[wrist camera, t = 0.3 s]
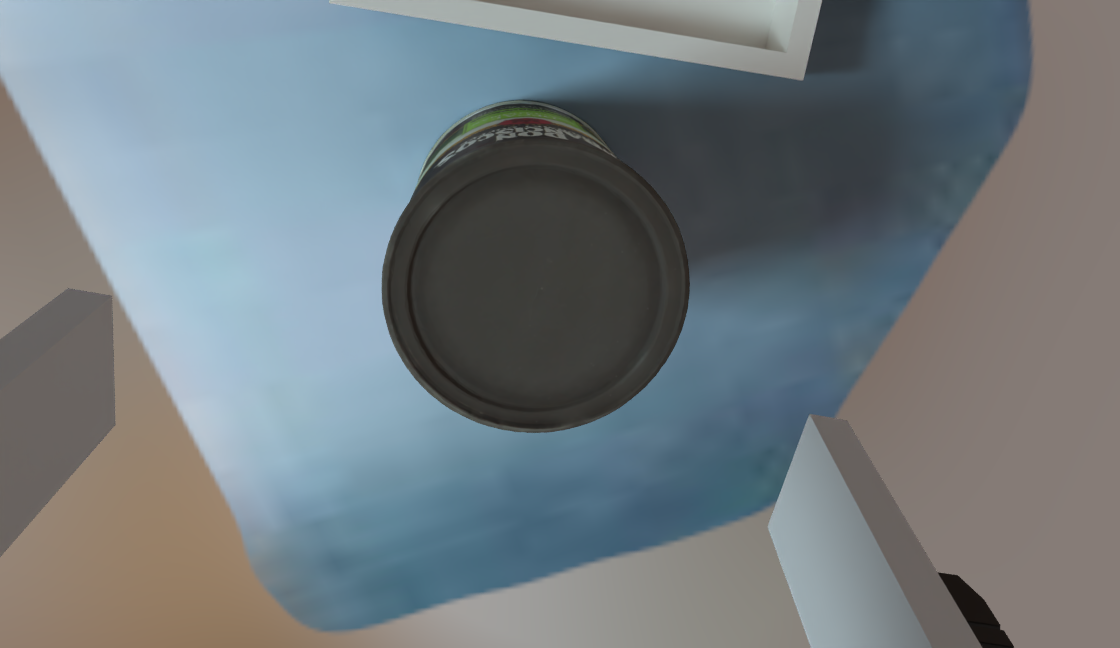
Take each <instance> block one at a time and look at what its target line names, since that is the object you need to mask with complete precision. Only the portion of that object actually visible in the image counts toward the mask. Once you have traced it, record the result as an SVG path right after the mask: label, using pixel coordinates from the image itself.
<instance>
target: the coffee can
mask: <svg viewBox="0 0 1120 648" xmlns="http://www.w3.org/2000/svg"><path fill="white" fill-rule="evenodd" d="M689 286H690V282H689V267H688V259H687V255H686V250H685V246H684V242H683V239H682V236H681V233H680V230H679V228H678V226H677V223H676V221H675V219H674V217H673V216H672V214H671V212H670V210H669V209H668V207H667V205H666V204H665V203H664V201H663V200H662V199H661V197H660V196H659V195H658V194H657V192H656V191H655V190H654V189H653V188H652V187H651V186H650V185H649V184H648V183H647V182H646V181H645V180H644V179H643V178H642V177H641V176H640V175H639V174H637V173H636V172H635V171H634V170H633V169H632V168H630V167H629V166H627V165H626V164H624V163H623V162H622V161H620V160H619V159H618V158H617V157H616V156H615V155H614V154H613V153H612V152H611V150H610V149H609V148H608V147H607V145H606V144H605V142H604V141H603V140H602V139H601V138H600V136H599V135H598V134H597V133H596V132H595V130H593V129H592V128H591V127H590V126H589V125H588V124H586V123H585V122H584V121H582V120H581V119H579V118H578V117H576V116H575V115H573V114H571V113H569V112H567V111H565V110H563V109H560V108H558V107H555V106H552V105H549V104H544V103H539V102H532V101H521V100H516V101H506V102H500V103H496V104H492V105H489V106H486V107H483V108H481V109H478V110H476V111H474V112H472V113H470V114H468V115H467V116H465V117H463V118H462V119H460V120H459V121H458V122H456V123H455V124H454V125H452V126H451V127H450V128H449V129H448V130H447V131H446V132H445V133H444V134H443V135H442V136H441V137H440V138H439V140H438V141H437V142H436V143H435V145H434V146H433V148H432V149H431V151H430V153H429V155H428V156H427V158H426V160H425V162H424V165H423V168H422V170H421V173H420V176H419V180H418V183H417V186H416V188H415V191H414V193H413V195H412V198H411V200H410V202H409V204H408V205H407V206H406V208H405V210H404V211H403V213H402V214H401V216H400V218H399V220H398V222H397V224H396V226H395V228H394V231H393V233H392V235H391V238H390V241H389V244H388V247H387V251H386V255H385V259H384V264H383V271H382V304H383V309H384V315H385V319H386V323H387V327H388V330H389V334H390V336H391V339H392V341H393V344H394V346H395V348H396V350H397V352H398V354H399V356H400V357H401V359H402V361H403V362H404V364H405V366H406V367H407V369H408V370H409V371H410V372H411V374H412V375H413V377H414V378H415V379H416V380H417V381H418V382H419V383H420V385H421V386H422V387H423V388H424V389H425V390H426V391H427V392H428V393H429V394H431V395H432V396H433V397H434V398H436V399H437V400H438V401H440V402H441V403H442V404H443V405H445V406H446V407H448V408H449V409H451V410H453V411H455V412H457V413H458V414H460V415H462V416H464V417H466V418H468V419H470V420H473V421H475V422H477V423H480V424H483V425H486V426H490V427H494V428H498V429H502V430H509V431H514V432H527V433H541V432H554V431H560V430H566V429H570V428H574V427H577V426H581V425H584V424H587V423H590V422H592V421H595V420H597V419H599V418H602V417H604V416H606V415H608V414H610V413H611V412H613V411H615V410H617V409H618V408H620V407H621V406H623V405H624V404H625V403H627V402H628V401H629V400H631V399H632V398H633V397H634V396H636V395H637V394H638V393H639V392H640V391H641V390H642V389H643V388H645V387H646V386H647V385H648V383H649V382H650V381H651V380H652V379H653V378H654V377H655V376H656V375H657V373H658V372H659V370H660V369H661V367H662V366H663V365H664V364H665V362H666V361H667V359H668V357H669V356H670V354H671V352H672V350H673V349H674V347H675V345H676V342H677V340H678V338H679V335H680V333H681V331H682V327H683V324H684V321H685V317H686V313H687V309H688V300H689Z"/></svg>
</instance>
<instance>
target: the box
mask: <svg viewBox="0 0 1120 648" xmlns="http://www.w3.org/2000/svg"><path fill="white" fill-rule="evenodd" d="M329 3H332V4H338V5H344V6H350V7H356V8H362V9H368V10H375V11H381V12H387V13H393V14H399V15H405V16H411V17H417V18H423V19H430V20H436V21H442V22H448V23H454V24H460V25H466V26H472V27H478V28H485V29H491V30H497V31H503V32H509V33H515V34H521V35H527V36H533V37H539V38H546V39H552V40H558V41H564V42H570V43H576V44H582V45H588V46H594V47H601V48H607V49H613V50H619V51H625V52H631V53H637V54H643V55H649V56H655V57H662V58H668V59H674V60H680V61H686V62H692V63H698V64H704V65H710V66H717V67H723V68H729V69H735V70H741V71H747V72H753V73H759V74H765V75H772V76H778V77H784V78H790V79H796V80H802V81H803V79H804V75H805V71H806V66H807V62H808V58H809V54H810V50H811V45H812V41H813V37H814V33H815V28H816V24H817V20H818V16H819V12H820V7H821V3H822V0H329Z"/></svg>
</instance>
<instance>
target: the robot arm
mask: <svg viewBox="0 0 1120 648" xmlns="http://www.w3.org/2000/svg"><path fill="white" fill-rule="evenodd" d="M112 314H113V311H112V296H110V295H105V294H99V293H93V292H87V291H81V290H75V289H69V288H68V289H67V290H65V291H64V292H63V293H62V294H60V295H59V296H57V297H56V298H55V299H53V300H52V301H51V302H49V303H48V304H47V305H45V306H44V307H43V308H41V309H40V310H39V311H37V312H36V313H35V314H33V315H32V316H31V317H30V318H28V319H27V320H25V321H24V322H23V323H21V324H20V325H19V326H18V327H16V328H15V329H14V330H12V331H11V332H10V333H8V334H7V335H6V336H4V337H3V338H2V339H0V557H1V556H2V554H3V553H4V552H5V551H6V550H7V549H8V548H9V546H10V545H11V544H12V543H13V542H14V541H15V539H16V538H17V537H18V536H19V535H20V534H21V533H22V531H23V530H24V529H25V528H26V527H27V526H28V525H29V523H30V522H31V521H32V520H33V519H34V518H35V516H36V515H37V514H38V513H39V512H40V511H41V510H42V508H43V507H44V506H45V505H46V504H47V503H48V502H49V500H50V499H51V498H52V497H53V496H54V495H55V494H56V492H57V491H58V490H59V489H60V488H61V487H62V485H63V484H64V483H65V482H66V481H67V480H68V479H69V477H70V476H71V475H72V474H73V473H74V472H75V471H76V469H77V468H78V467H79V466H80V465H81V464H82V462H83V461H84V460H85V459H86V458H87V457H88V456H89V455H90V453H91V452H92V451H93V450H94V449H95V448H96V446H97V445H98V444H99V443H100V442H101V441H102V440H103V438H104V437H105V436H106V435H107V434H108V433H109V431H110V430H111V429H112V428H113V427H114V426H115V392H114V391H115V389H114V350H113V315H112ZM768 529H769V532H770V535H771V537H772V540H773V543H774V546H775V549H776V551H777V554H778V557H779V560H780V563H781V565H782V568H783V571H784V574H785V577H786V579H787V582H788V585H789V588H790V591H791V593H792V596H793V599H794V602H795V604H796V607H797V610H798V613H799V615H800V618H801V621H802V624H803V627H804V630H805V633H806V635H807V638H808V641H809V644H810V647H811V648H1014V646H1013V644H1012V643H1011V641H1010V640H1009V638H1008V636H1007V635H1006V633H1005V632H1004V631H1003V630H1000V624H999V622H998V621H997V619H996V618H995V617H994V615H993V613H992V611H991V610H990V608H989V607H988V605H987V604H986V602H985V601H984V599H983V598H982V597H981V596H979V595H978V594H977V593H976V592H975V591H974V590H973V589H972V588H971V587H970V586H969V585H967V584H966V583H965V582H964V581H963V580H962V579H961V578H960V577H959V576H958V575H951V574H945V573H938V572H937V571H936V569H935V567H934V566H933V564H932V562H931V561H930V559H929V557H928V556H927V554H926V552H925V551H924V549H923V547H922V545H921V544H920V542H919V540H918V539H917V537H916V535H915V534H914V532H913V530H912V529H911V527H910V525H909V524H908V522H907V520H906V519H905V517H904V515H903V514H902V512H901V510H900V509H899V507H898V505H897V504H896V502H895V500H894V498H893V497H892V495H891V493H890V492H889V490H888V488H887V487H886V485H885V483H884V482H883V480H882V478H881V477H880V475H879V473H878V472H877V470H876V468H875V467H874V465H873V463H872V461H871V460H870V458H869V456H868V455H867V453H866V451H865V450H864V448H863V446H862V445H861V443H860V441H859V440H858V438H857V436H856V435H855V433H854V431H853V429H852V428H851V426H850V425H849V423H848V421H847V420H841V419H835V418H830V417H824V416H818V415H812V414H809V417H808V419H807V422H806V425H805V428H804V430H803V433H802V436H801V438H800V441H799V444H798V446H797V449H796V452H795V455H794V457H793V460H792V463H791V465H790V468H789V471H788V473H787V476H786V479H785V481H784V484H783V487H782V490H781V492H780V495H779V498H778V500H777V503H776V506H775V508H774V511H773V514H772V517H771V519H770V522H769V525H768Z"/></svg>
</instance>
